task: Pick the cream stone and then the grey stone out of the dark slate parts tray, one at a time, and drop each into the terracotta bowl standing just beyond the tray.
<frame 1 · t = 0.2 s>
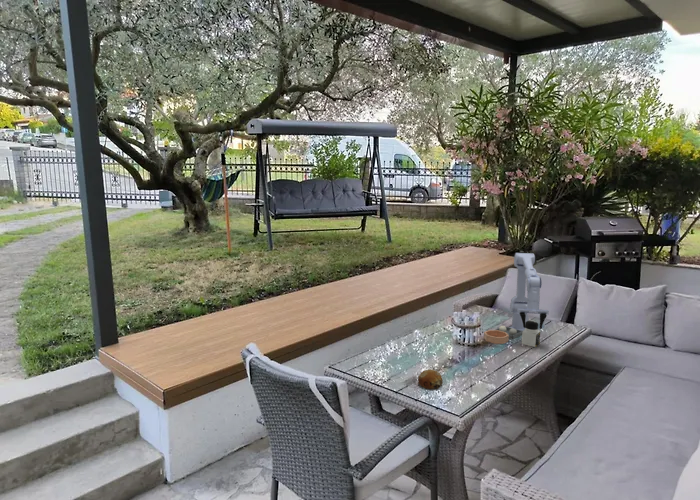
hand: (532, 328, 237), 11 cm above the table, tool pointing down, fingers open, 7 cm apart
bread roll: (430, 385, 197), on the table
cream pebble: (502, 332, 260), resting on parts tray
parts tray: (507, 334, 258), on the table
bowl: (495, 340, 250), on the table
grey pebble: (512, 335, 256), resting on parts tray
medicine bottle: (530, 344, 244), on the table
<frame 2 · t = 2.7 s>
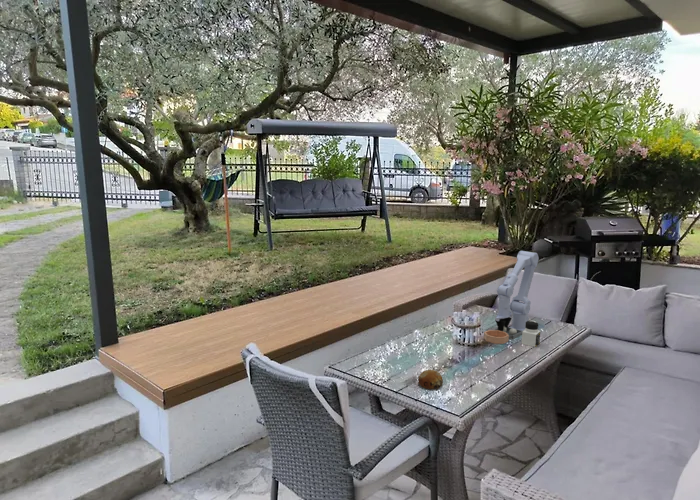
hand: (502, 331, 260), 1 cm above the table, tool pointing down, fingers closed on cream pebble, 4 cm apart
cream pebble: (502, 332, 260), resting on parts tray, touching gripper
everything else where it was.
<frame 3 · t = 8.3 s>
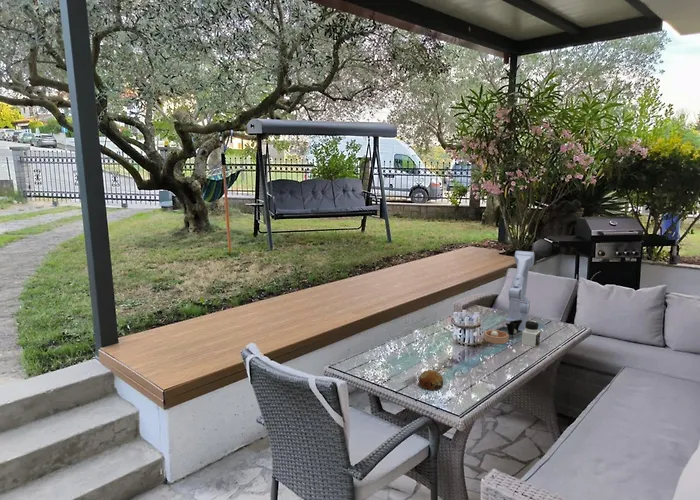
hand: (512, 333, 256), 1 cm above the table, tool pointing down, fingers closed on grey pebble, 4 cm apart
cream pebble: (494, 338, 251), point 1 cm above the table, touching bowl
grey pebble: (512, 335, 256), resting on parts tray, touching gripper
everything else where it was.
when the fingers open (5 cm above the table, at t = 10.6 s): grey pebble drops 2 cm and tips over, resting on bowl.
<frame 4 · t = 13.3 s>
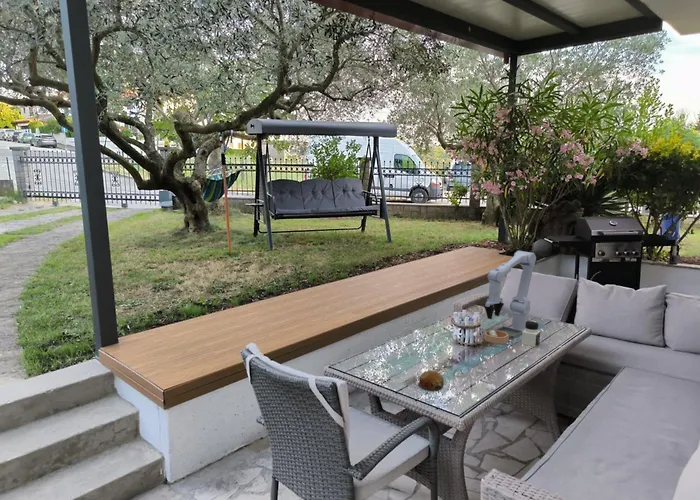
hand: (493, 317, 255), 10 cm above the table, tool pointing down, fingers open, 7 cm apart
cream pebble: (494, 337, 251), point 1 cm above the table, tilted 37°, touching bowl
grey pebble: (496, 337, 248), point 2 cm above the table, tilted 65°, touching bowl
at the end: cream pebble inside the target area on the bowl (1.9 cm from its centre), point 0.9 cm above the bowl's base; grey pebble inside the target area on the bowl (0.9 cm from its centre), point 1.7 cm above the bowl's base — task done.
